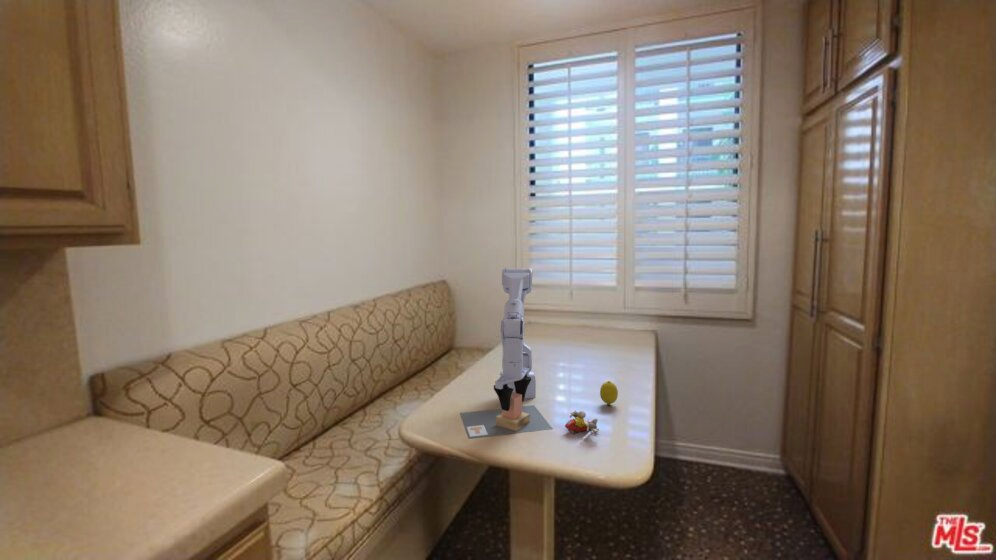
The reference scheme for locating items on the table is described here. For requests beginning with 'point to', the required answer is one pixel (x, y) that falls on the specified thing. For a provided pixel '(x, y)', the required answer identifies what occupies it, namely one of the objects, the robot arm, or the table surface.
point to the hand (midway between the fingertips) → (512, 405)
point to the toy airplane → (581, 423)
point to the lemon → (608, 392)
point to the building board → (485, 425)
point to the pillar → (514, 406)
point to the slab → (513, 421)
